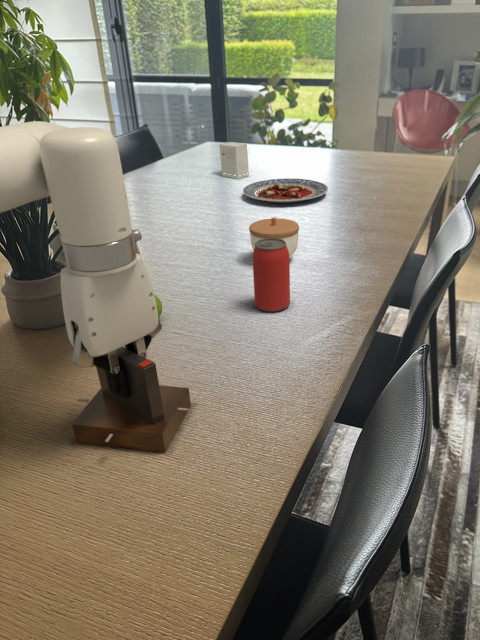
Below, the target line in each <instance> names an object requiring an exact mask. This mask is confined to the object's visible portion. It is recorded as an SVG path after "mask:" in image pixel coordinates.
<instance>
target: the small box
mask: <svg viewBox="0 0 480 640" xmlns="http://www.w3.org/2000/svg"><path fill="white" fill-rule="evenodd" d="M219 157H220V168H221V176H222V177H226V178H230V179H231V178H232V179H236V180H239V179H242V178H243V179H244V178H246V177H248V176H250V171H249V155H248V143H244V142H243V143H242V142H235V141H228V142H224V143H219ZM223 173H226V174H223ZM247 173H248V174H247ZM228 174H231V175H228ZM243 174H245V175H243ZM234 175H236V176H234ZM239 175H241V176H239Z"/></svg>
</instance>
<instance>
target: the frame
mask: <svg viewBox="0 0 480 640" xmlns="http://www.w3.org/2000/svg"><path fill="white" fill-rule="evenodd" d="M116 351H117V356H118V360H119V365H120V369H122V370H124V371H125V373H126V378H127V383H128V387H129V392H130V396H129V398H127V399H124V398H122V397H121V396H119V395H117V394H115V393H113V392H111V391H110V389H109V387H108V382H107V378H106V374H105V370H104V369H101V368H99V367H97V366H95V368H96V373H97V376H98V380H99V384H100V385H99V386H100V389H102V393H104V394H105V395H107V396H108V397H110V398H112V399H113V400H115V401H117V402H118V403H120V404H121V405H123V406H125V407H126V408H128V409H130V410H131V411H133V412H134V413H136V414H138V415H139V416H141V417H143V418H144V419H146V420H147V421H149V422H151V423H152V424H155V423H156V422H158V421H160V420H161V419H163V418H165V416H164V411H163V405H162V399H161V393H160V387H159V385H160V382H159V376H158V370H157V365H156V363H155V362H154V361H153V360H151V359H149V358H147V357H146V358H144V357H142V356H140V355H138V354H136V353H134V352H132V351H130V350H128V349H126V348H125V346H123V347H121V348H118V349H116Z"/></svg>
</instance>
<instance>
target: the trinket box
mask: <svg viewBox="0 0 480 640" xmlns="http://www.w3.org/2000/svg"><path fill="white" fill-rule="evenodd" d="M248 229H249V230H248V231H249V239H250V245H251V248H252V252H253V251H254V248H255V243H256V242H257V241H259V240H261V239H266V238H277V239H282V240H284V241H285V242H286V246H287V248H288V251H289V259H291V258H292V257H293V256H294V254H295V252H296V251H297V249H298V243H299V230H300V225H299V223H298V222H296V221H295V220H292V219H288V218H277V217H271V218H265V219H260V220H257V221H254V222H252V223H250V224H249V227H248Z"/></svg>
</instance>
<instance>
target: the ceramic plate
mask: <svg viewBox="0 0 480 640" xmlns="http://www.w3.org/2000/svg"><path fill="white" fill-rule="evenodd" d="M262 188H263V189H262ZM260 189H261V190H260ZM258 190H259V191H258ZM256 191H257V192H256ZM328 191H329V186H328V185H326V184H325V183H323V182H320V181H317V180H312V179H307V178H273V179H271V178H270V179H266V180H259V181H256V182H252V183H250V184H248V185H246V186H245V187H243V189H242V192H243V194H244V195H245V196H246V197H248V198H251V199H255V200H259V201H264V202H267V203H272V204H293V203H302V202H305V201H308V200H311V199H315V198H319V197H321V196H323V195H325V194H326V193H328ZM255 192H256V195H257V196H256V195H255Z"/></svg>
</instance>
